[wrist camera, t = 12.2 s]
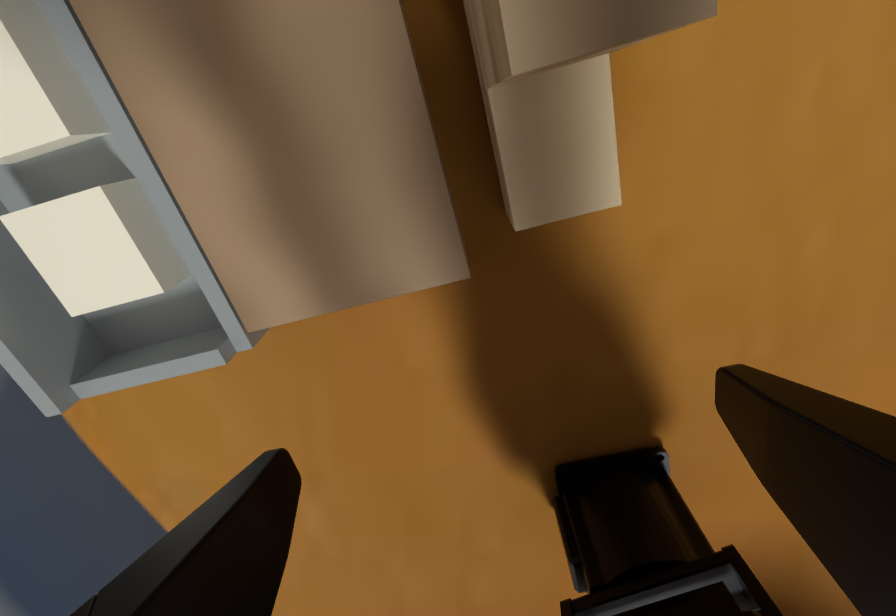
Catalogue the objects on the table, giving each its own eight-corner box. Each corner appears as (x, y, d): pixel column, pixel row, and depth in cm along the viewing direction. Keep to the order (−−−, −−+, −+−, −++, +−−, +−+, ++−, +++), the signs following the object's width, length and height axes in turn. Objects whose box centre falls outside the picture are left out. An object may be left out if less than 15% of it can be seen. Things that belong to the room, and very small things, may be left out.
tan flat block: (343, -228, 13) (320, -300, 10) (468, 258, 19) (470, 277, 17) (60, -114, 14) (-16, -157, 12) (270, 308, 20) (248, 332, 18)
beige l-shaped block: (550, -229, 13) (726, -816, 5) (595, 190, 18) (714, 256, 10) (425, -182, 13) (387, -643, 5) (505, 213, 19) (549, 294, 11)
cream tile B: (135, 177, 17) (99, 185, 16) (190, 275, 19) (164, 292, 17) (43, 205, 18) (-2, 216, 16) (106, 298, 20) (71, 317, 18)
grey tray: (27, -149, 13) (-129, -243, 10) (269, 327, 21) (232, 373, 17) (-195, -56, 14) (-409, -111, 11) (112, 366, 22) (46, 417, 18)
